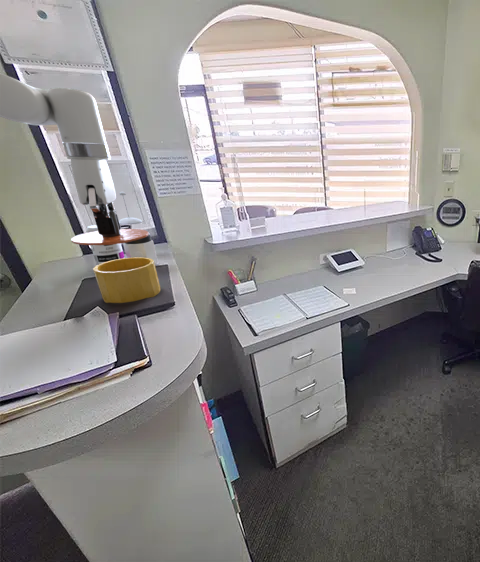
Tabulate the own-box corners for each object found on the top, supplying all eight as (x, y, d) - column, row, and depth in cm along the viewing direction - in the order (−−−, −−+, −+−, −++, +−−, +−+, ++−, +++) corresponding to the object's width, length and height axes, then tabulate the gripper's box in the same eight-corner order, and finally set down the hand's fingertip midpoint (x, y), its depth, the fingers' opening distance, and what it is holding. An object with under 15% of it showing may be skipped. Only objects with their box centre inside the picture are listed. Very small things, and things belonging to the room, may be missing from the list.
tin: (97, 308, 84) (86, 275, 80) (110, 289, 95) (101, 260, 91) (157, 299, 89) (149, 269, 86) (162, 283, 101) (156, 255, 97)
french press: (149, 257, 123) (133, 193, 114) (113, 260, 119) (94, 193, 110) (156, 251, 132) (141, 190, 122) (123, 252, 128) (105, 190, 119)
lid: (61, 250, 68) (49, 217, 65) (84, 234, 81) (75, 207, 78) (143, 244, 74) (136, 215, 72) (153, 231, 87) (147, 205, 84)
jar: (126, 270, 109) (117, 237, 105) (132, 263, 116) (123, 232, 112) (156, 268, 113) (149, 236, 108) (160, 261, 120) (153, 231, 115)
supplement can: (114, 262, 117) (102, 222, 112) (132, 264, 116) (121, 224, 110) (91, 269, 110) (78, 227, 104) (111, 271, 108) (98, 229, 103)
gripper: (79, 151, 75) (101, 226, 82) (49, 151, 61) (79, 241, 68) (117, 153, 78) (135, 224, 85) (97, 153, 65) (121, 239, 71)
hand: (110, 231), depth 77 cm, fingers closed on lid, 3 cm apart
